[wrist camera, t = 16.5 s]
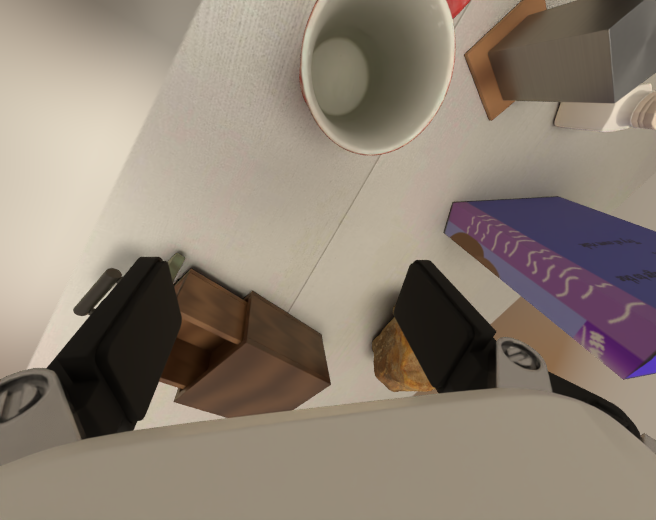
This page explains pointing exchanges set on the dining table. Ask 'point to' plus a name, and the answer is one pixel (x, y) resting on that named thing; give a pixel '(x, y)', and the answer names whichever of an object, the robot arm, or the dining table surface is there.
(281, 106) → the dining table surface
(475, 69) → the plate
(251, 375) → the cabinet
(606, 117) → the pepper shaker
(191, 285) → the drawer
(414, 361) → the rough brown rock
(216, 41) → the dining table surface
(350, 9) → the mug
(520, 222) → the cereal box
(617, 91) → the metal block
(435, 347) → the robot arm
